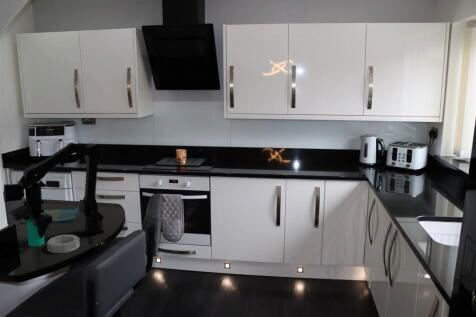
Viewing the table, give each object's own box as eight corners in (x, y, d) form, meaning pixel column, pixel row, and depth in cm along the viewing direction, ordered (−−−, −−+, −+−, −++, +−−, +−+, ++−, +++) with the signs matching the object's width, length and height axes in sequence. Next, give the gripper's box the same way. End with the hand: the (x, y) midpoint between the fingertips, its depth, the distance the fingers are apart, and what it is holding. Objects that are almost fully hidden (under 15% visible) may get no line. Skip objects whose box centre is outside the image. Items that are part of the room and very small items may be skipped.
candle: (26, 247, 158) (24, 218, 156) (29, 241, 164) (28, 213, 162) (43, 245, 160) (41, 217, 158) (45, 240, 166) (44, 212, 163)
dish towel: (75, 223, 188) (74, 218, 188) (20, 225, 182) (20, 220, 182) (80, 212, 204) (79, 207, 204) (30, 214, 199) (30, 209, 198)
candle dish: (70, 238, 168) (70, 232, 167) (85, 246, 160) (85, 239, 160) (41, 246, 159) (41, 239, 158) (56, 255, 151) (55, 248, 151)
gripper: (2, 197, 158) (5, 234, 161) (22, 207, 146) (24, 247, 149) (31, 192, 167) (33, 227, 169) (52, 201, 155) (54, 239, 158)
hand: (36, 235), depth 161 cm, fingers open, 9 cm apart
